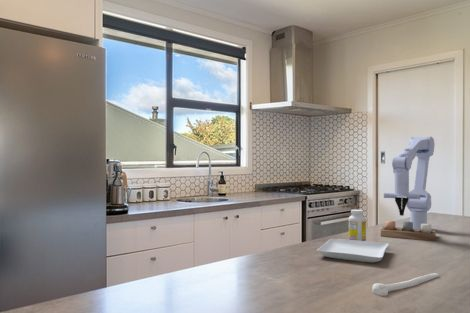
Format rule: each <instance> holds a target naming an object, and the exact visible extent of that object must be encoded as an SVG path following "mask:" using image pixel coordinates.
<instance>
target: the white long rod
mask: <svg viewBox="0 0 470 313" xmlns="http://www.w3.org/2000/svg"><path fill="white" fill-rule="evenodd" d="M438 277H440V274H439V273H437V272H433V273H428V274H425V275H421V276H418V277H415V278H412V279H410V280H405V281H404V280H403V281H400V282H396V283H389V284H385V283H379V282H378V283H374V284H372V287H371V292H372V294H375V295H377V296H381V297H383V296H388V295H389V293H390V292H394V291H399V290H403V289H406V288H411V287H415V286H417V285H420V284H421V283H425V282H427V281H431V280H433V279H435V278H438Z"/></svg>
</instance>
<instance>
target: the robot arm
mask: <svg viewBox="0 0 470 313" xmlns="http://www.w3.org/2000/svg"><path fill="white" fill-rule="evenodd" d="M435 143H436V142H435V139H434V137H432V136H421V137H419V136H416V137H415V136H414V137H413V136H411V137H410V139H409V141H408V145H409V146H408V147H406V148H404V149H403V150H402V151H401V153H400V154H399V155H398V156H395V157H393V159H392V163H391V166H392V171H393V174H394V193H391V192H389V193H387V192H385V193H383V198H384V199H394V202H395V203H396V206H397V208H398V213H399V216H403V217H404V216H405V214H404V213H405V209H406V207H407V209H408V211H409V222H413V229H421V224H428V212H429V211H430V210H431V208H432V195H431V194H430V193H429V192H428V191H427V190H426V188H427V180H428V179H427V178H428V173H429V172H428V171H429V163H430V158H431V157H432V156H434V152H435V145H436V144H435ZM416 157H417V162H416V173H415V180H414V188H413V189H412V190H410V170H411V169H412V165H413V161H414V159H415V158H416Z"/></svg>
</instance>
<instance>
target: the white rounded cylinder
mask: <svg viewBox="0 0 470 313" xmlns="http://www.w3.org/2000/svg"><path fill="white" fill-rule="evenodd" d="M431 230H432V224H431V223H430V224H429V223H427V224H421V232H422V233H431Z"/></svg>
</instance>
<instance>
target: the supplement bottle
mask: <svg viewBox="0 0 470 313" xmlns="http://www.w3.org/2000/svg"><path fill="white" fill-rule="evenodd" d="M350 214H351V215H350V216H349V217H348V240H357V241H367V229H366V228H367V227H366V226H367V219H366V216H364V210H363V209H351V210H350Z"/></svg>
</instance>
